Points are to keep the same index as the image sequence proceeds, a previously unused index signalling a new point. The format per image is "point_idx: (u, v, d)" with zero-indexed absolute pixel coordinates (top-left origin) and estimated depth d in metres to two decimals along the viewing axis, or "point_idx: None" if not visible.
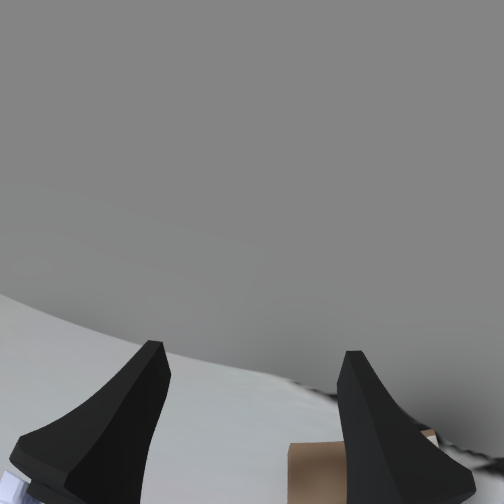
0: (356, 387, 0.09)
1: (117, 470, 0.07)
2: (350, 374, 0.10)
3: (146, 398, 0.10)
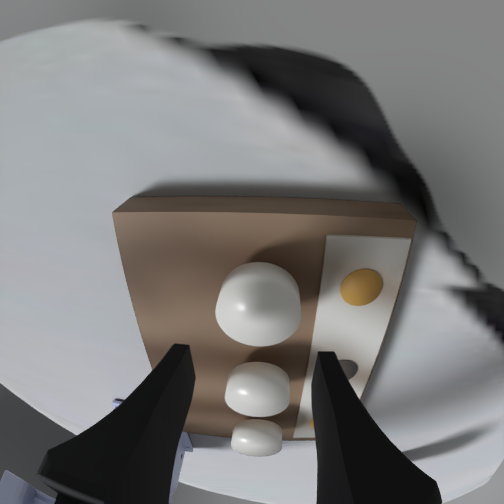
0: (324, 388, 0.09)
1: (150, 479, 0.07)
2: (320, 375, 0.10)
3: (174, 403, 0.10)
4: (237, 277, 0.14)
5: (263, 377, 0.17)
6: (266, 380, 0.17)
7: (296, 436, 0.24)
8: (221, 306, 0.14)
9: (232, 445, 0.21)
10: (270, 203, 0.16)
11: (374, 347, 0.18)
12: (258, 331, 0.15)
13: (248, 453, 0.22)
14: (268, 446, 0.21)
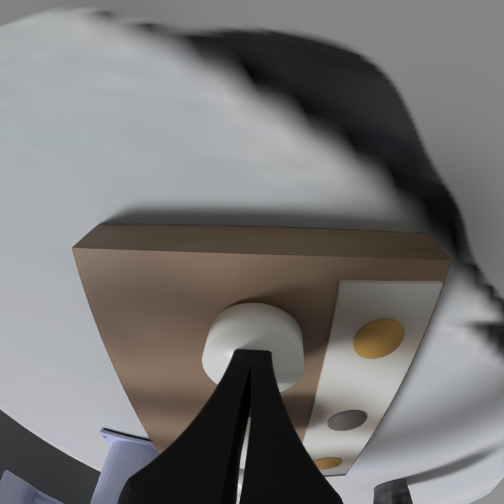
0: None
1: (231, 492, 0.07)
2: (251, 373, 0.10)
3: (244, 410, 0.09)
4: (228, 323, 0.11)
5: None
6: None
7: None
8: (209, 356, 0.12)
9: None
10: (267, 237, 0.13)
11: (387, 397, 0.15)
12: None
13: None
14: None
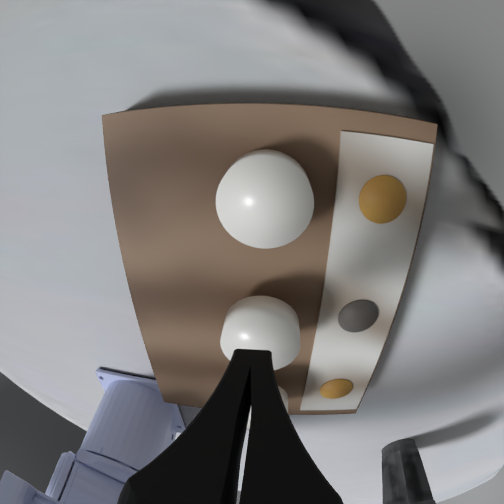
0: None
1: (231, 492, 0.07)
2: (250, 373, 0.10)
3: (244, 410, 0.09)
4: (242, 158, 0.12)
5: (268, 312, 0.14)
6: (272, 315, 0.14)
7: (303, 408, 0.22)
8: (222, 192, 0.12)
9: None
10: (276, 103, 0.13)
11: (398, 284, 0.16)
12: (265, 226, 0.13)
13: (248, 426, 0.19)
14: None
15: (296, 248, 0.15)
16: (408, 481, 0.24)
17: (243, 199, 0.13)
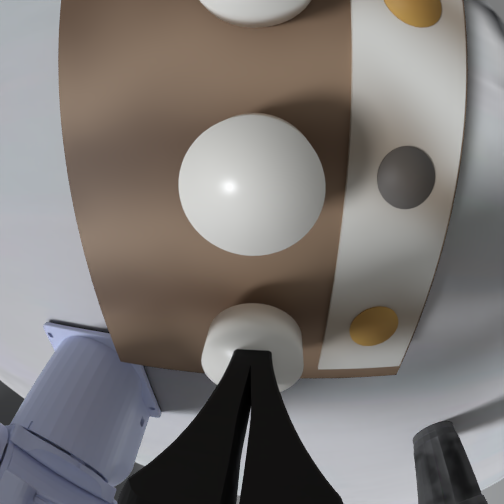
0: None
1: (231, 492, 0.07)
2: (251, 373, 0.10)
3: (244, 410, 0.09)
4: None
5: (264, 116, 0.08)
6: None
7: (323, 366, 0.15)
8: None
9: (204, 364, 0.12)
10: None
11: (455, 126, 0.09)
12: None
13: None
14: (276, 364, 0.11)
15: (303, 54, 0.09)
16: (452, 474, 0.17)
17: None
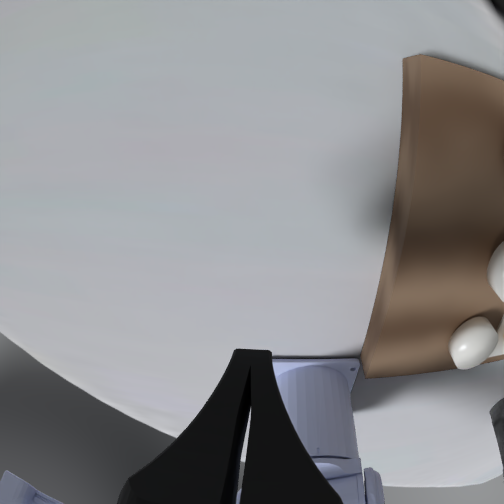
0: None
1: (231, 492, 0.07)
2: (250, 373, 0.10)
3: (244, 410, 0.09)
4: None
5: None
6: None
7: None
8: None
9: (458, 353, 0.17)
10: None
11: None
12: None
13: (463, 365, 0.18)
14: (487, 347, 0.17)
15: None
16: None
17: None
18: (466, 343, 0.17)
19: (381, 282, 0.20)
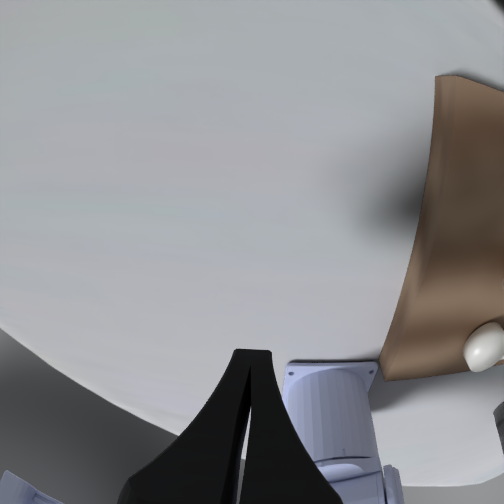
0: None
1: (231, 492, 0.07)
2: (250, 373, 0.10)
3: (244, 410, 0.09)
4: None
5: None
6: None
7: None
8: None
9: (473, 357, 0.18)
10: None
11: None
12: None
13: (476, 368, 0.18)
14: (499, 350, 0.17)
15: None
16: None
17: None
18: (480, 347, 0.17)
19: (404, 289, 0.20)
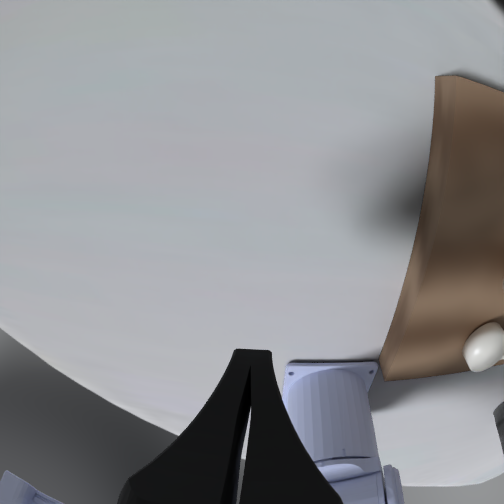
0: None
1: (231, 492, 0.07)
2: (250, 373, 0.10)
3: (244, 410, 0.09)
4: None
5: None
6: None
7: None
8: None
9: (473, 357, 0.18)
10: None
11: None
12: None
13: (476, 368, 0.18)
14: (499, 350, 0.17)
15: None
16: None
17: None
18: (480, 347, 0.17)
19: (404, 289, 0.20)
